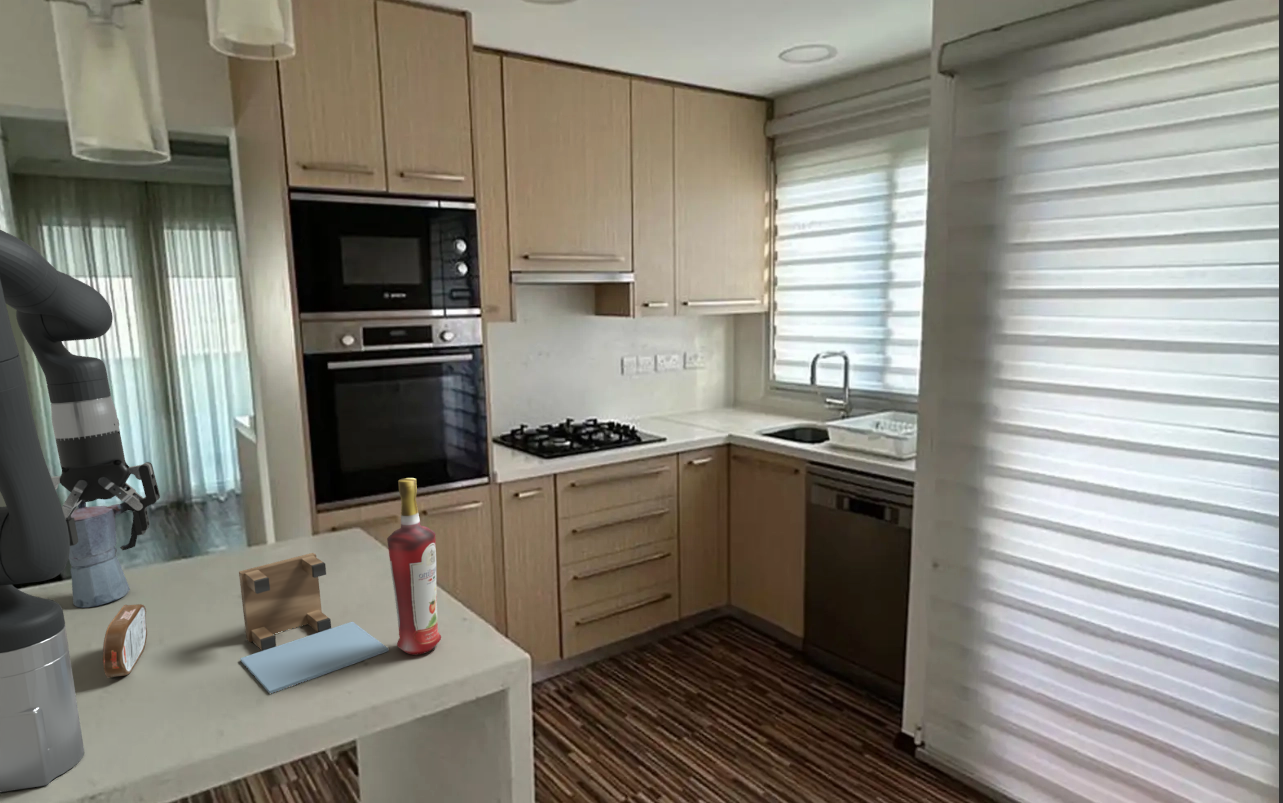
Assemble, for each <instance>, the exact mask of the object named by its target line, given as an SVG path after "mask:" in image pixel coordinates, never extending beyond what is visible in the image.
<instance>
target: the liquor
mask: <svg viewBox="0 0 1283 803" xmlns="http://www.w3.org/2000/svg"><path fill="white" fill-rule="evenodd" d="M397 482H398V492H399V496H400V501H401V504H400V528H398V529H396V530H394V531H393V532H392V533H391V534H389V535H388V537H387V539H386V540H387V549H388V556H389V564H390V566H389V567H390V572H391V578H392V586H393V592H394V600H395V609H396V616H397V617H396V618H397V624H398V635H399V638H398V640H397V642H396V645H397V647H398V648H399V649H400V650H402V651H403V652H405V653H407V654H408V655H410V656H411V655H415V656H417V655H423V654H426V653H429V652H430V651H432V650H433V649H434V648H435V647H436V646H437V645H438V644H439V643H440V641H442V635H441V634H440V632H439V628H438V604H437V603H438V602H437V600H438V599H437V597H438V596H437V550H436V548H437V546H436V544H437V542H436V532H435V531H434V530H433V529H431V528H429V527H428V526H424V525H421V520H420V516H419V515H420V514H419V509H418V504H417V492H418V491H417V490H418V488H417V486H418V485H417V478H414V477H406V478H401V479H399V480H398V481H397Z"/></svg>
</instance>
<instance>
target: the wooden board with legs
mask: <svg viewBox="0 0 1283 803" xmlns="http://www.w3.org/2000/svg"><path fill="white" fill-rule="evenodd" d="M238 574H239V575H238V577H239V584H240V595H241V603H242V611H243V612H242V613H243V619H244V620H243V622H244V628H245V629H244V630H245V637H246V638H245V639H247V640H248V641H249V642H250V643H253V644H254V645H255V644H256V645H257V646H258V647H259V648H260V649H261V650H262V651H264V650H267V649H270V648H273V647H276V646H277V642H276V636H275V635H276V634H275V633H278V632H281V631H285V630H288V629H291V630H293V629H292V628H294V629H297V628H300V627H299V626H301V627H303V626H302V625H304V626H306V625H308V626H309V627H311V628H312V629H313V630H314V631H316V633H319V632H322V631H325V630H328V629H331V628H332V622H331V621H332V620H331V618H330V617H329V616H328V615H326V614H325V613H324V612H323V611H322V603H321V602H322V601H321V600H322V599H321V591H320V590H321V588H320V580H319V579H320V577H322V576H327V568H326V563H325V562H324V561H323V560H321V559H319V558H317V554H316V553H314V552H311V553H306V554H303V555H302V554H301V555H300V556H295V557H290V558H287V559H283V560H280V561H279V560H278V561H276V562H275V561H274V562H270V563H268V564H267V563H266V564H262V565H259V566H255V567H251V568H248V569H243V570H240V571H238ZM296 627H297V628H296ZM288 631H289V630H288ZM285 632H286V631H285ZM273 634H275V635H273ZM278 634H279V633H278ZM247 640H246V641H247ZM248 641H247V642H248ZM252 641H253V642H252ZM249 642H248V643H249ZM256 645H255V646H256ZM257 646H256V647H257ZM258 647H257V648H258ZM259 648H258V649H259ZM260 649H259V650H260ZM261 650H260V651H261Z"/></svg>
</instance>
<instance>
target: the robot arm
mask: <svg viewBox="0 0 1283 803" xmlns="http://www.w3.org/2000/svg"><path fill="white" fill-rule="evenodd" d="M7 305H8V306H9V307H11V309H13V310H15V316H16V320H17V325H18V327H19V330H20V332H21V333H22V335H23V336H24V338H25V340H26V343H28V345H29V346H30V349H31V351H32V352H33V355H34V356H35V358H36V360H37V362H38V365H39V366H40V368H41V371H42V372H43V375H44V377H45V382H46V387H47V393H48V396H49V397H48V398H49V402H50V410H51V411H50V412H51V413H50V414H51V415H50V416H51V424H52V429H53V430H52V431H53V434H54V439H55V444H56V449H57V454H58V458H59V460H58V461H59V465H60V468H61V474H60V475H57V476H51V474H50V471H49V468H48V465H47V462H46V460H45V457H44V454H43V451H42V447H41V443H40V440H39V436H38V432H37V429H36V424H35V423H36V422H35V420H34V415H33V412H32V408H31V403H30V397H29V390H28V386H27V381H26V375H25V373H24V370H23V368H24V367H23V363H22V360H21V356H20V352H19V349H18V345H17V341H16V339H15V335H14V332H13V328H12V324H11V320H10V316H9V313H8V308H7ZM113 317H114V316H113V312H112V308H111V306H110V304H109V302H108V301H107V299H106V298H105V296H103V295H102V294H101V292H99V290H96V289H95V288H94V287H92V286H91V285H89V284H87V283H86V282H83V281H81V280H79V279H77V278H74V277H73V276H71V275H69V274H67V273H65V272H62V271H59V270H57V269H56V268H55V267H54V266H53V265H52V264H51V263H50V262H49V261H48V260H47V259H46V258H45V257H43V255H41V254H40V252H39V251H37V250H36V249H35V248H34V247H33V246H31V245H29V244H28V243H27V242H25V241H24V240H22V239H20V238H19V237H17V236H14V235H12V234H10V233H9V232H6V231H4V230H1V229H0V494H1V496H2V498H3V501H4V504H5V506H0V793H5V792H10V791H17V790H23V789H30V788H35V787H44V786H47V785H49V784H50V783H51V782H52V781H53V779H56V778H58V777H59V776H61V775H63V774H64V773H66V772H68V771H69V770H70V769H72V768H74V767H75V766H76V765H77V764H78V763H79V762H80V761H81V760H82V759H83V757H84V754H85V747H84V740H83V734H82V729H81V728H82V727H81V722H80V720H81V719H80V714H79V709H78V708H79V707H78V701H77V695H76V688H75V682H74V675H73V674H74V673H73V668H72V662H71V655H70V654H71V653H70V648H69V640H68V633H67V628H66V621H65V615H64V614H65V613H64V610H63V607H62V606H61V605H60V603H58V602H57V601H54V600H52V599H48V598H44V597H39V596H35V595H32V594H29V593H26V592H24V591H23V590H20V589H19V588H17V587H15V586H14V585H19V584H28V583H29V584H30V583H36V582H37V583H38V582H44V581H47V580H51V579H53V578H56V577H57V576H60V574H62V572H63V571H64V570H65V568H66V567H67V564H68V561H69V553H70V546H73V545H76V544H77V543H78V535H77V530H76V525H75V520H74V518H71V515H72V514H73V512H74V511H75V509H77V508H78V505H79V504H80V502H81V501H85V502H86V503H91V502H94V501H96V500H111V499H112V498H114V497H116V498H117V499H118V500H120V501H121V502H122V503H123V502H126V503H127V504H128V505H130V506H131V507H132V508H134V511H132V518H133V517H134V522H135V528H136V533H137V536H142V535H144V534H145V533H146V532H147V530H148V529H149V528H150V524H151V523H150V518H149V513H148V507H149V506H151V505H154V504H156V503H157V501H159V500H160V499H161V494H160V489H159V486H158V483H157V479H156V475H155V470H154V467H153V464H152V463H151V462H149V461H146V462H144V463H142V464H139V465H138V464H137V465H133V466H130V465H129V464H128V463H127V462H126V458H125V452H124V446H123V441H122V437H121V436H122V435H121V431H120V430H121V429H120V421H119V418H118V415H117V410H116V407H115V404H114V401H113V399H112V393H111V389H110V383H109V378H108V373H107V368H106V365H105V363H104V361H103V360H102V359H100V358H98V357H93V356H87V355H86V356H83V355H76V354H73V353H72V352H70V351H69V350H68V348H66V347H65V345H64V343H63V342H71V341H84V340H85V341H86V340H93V339H98V338H101V337H103V336H104V335H106V334H107V333H108V331H110V329H111V327H112V325H113V320H114V318H113ZM131 475H133V476H134V477H135V479H136V480H140V481H141V484H142V488H143V491H144V497H143V496H142V495H141V494H140V493H138V492H137V490H136V489H135V488H134V487H132V486H131V485H130V484H129V483H128V482H127V481H128V479H129V478H130V476H131ZM59 484H60V485H61V486H62V487H64V488H65V489H66V490H67V491H68V492H70V493H69V495H68V496H67V498H66V500H65V501H64V503H63V504H61V502H60V499H59V497H58V496H59V495H58V493H57V490H58V489H59V488H58V487H59Z"/></svg>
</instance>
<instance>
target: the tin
mask: <svg viewBox="0 0 1283 803" xmlns="http://www.w3.org/2000/svg"><path fill="white" fill-rule="evenodd" d="M147 638H148V628H147V609H146V606H145V605H144V604H142V603H140V604H139V603H138V604H137V603H136V604H123V606H121V608H120V610H118V612H117V613H116V615H115V616H114V618H113V619H112V620H111V621H110V623H109V624H108V626H107V629H106V631H105V634H104V638H103V639H104V640H103V644H102V645H103V646H102V666H103V672H104V674H105V675H104V676H106V678H107V679H111V678H115V677H123V676H127V675H130V673H132V671H133V670H134V668H135V666H136V664H137V662H138V661H139V659H140V658H141V656H142V655H143V652H144V650H145V647H146V645H147V644H146V643H147Z"/></svg>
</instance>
